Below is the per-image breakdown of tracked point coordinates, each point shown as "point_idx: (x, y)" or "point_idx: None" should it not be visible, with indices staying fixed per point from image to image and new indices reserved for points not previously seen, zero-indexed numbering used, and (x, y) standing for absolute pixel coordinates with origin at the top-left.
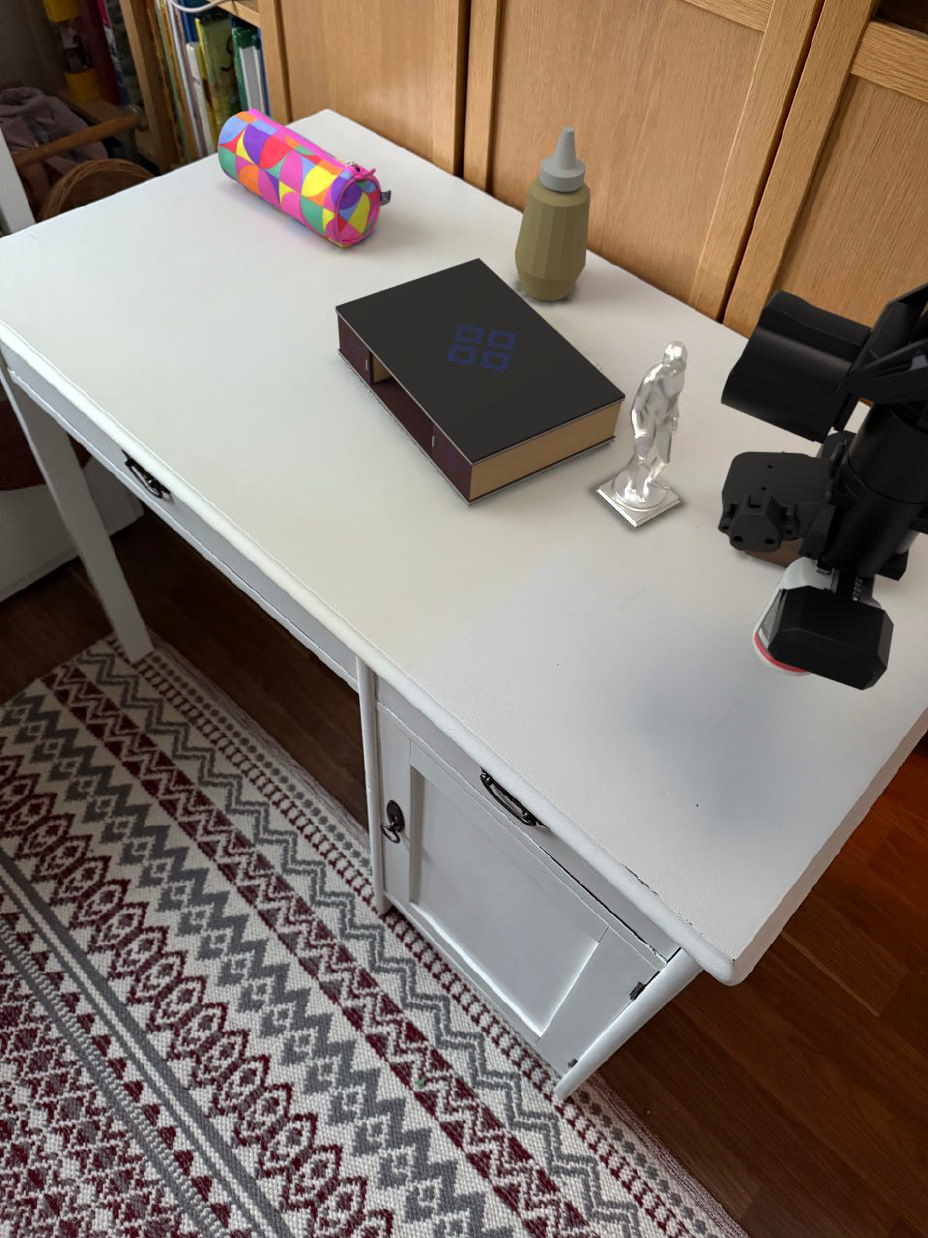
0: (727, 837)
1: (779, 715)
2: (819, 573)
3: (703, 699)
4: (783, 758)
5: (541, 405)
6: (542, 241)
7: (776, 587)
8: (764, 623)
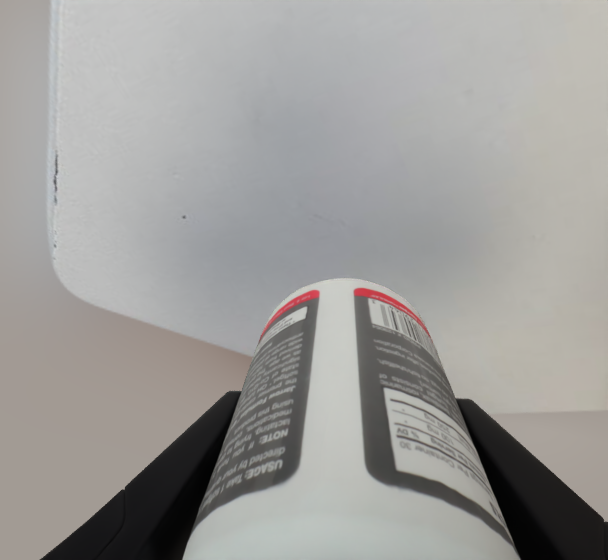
0: (167, 260)
1: None
2: None
3: (343, 182)
4: None
5: None
6: None
7: (353, 417)
8: (298, 335)
